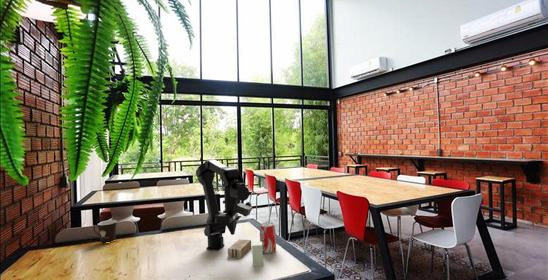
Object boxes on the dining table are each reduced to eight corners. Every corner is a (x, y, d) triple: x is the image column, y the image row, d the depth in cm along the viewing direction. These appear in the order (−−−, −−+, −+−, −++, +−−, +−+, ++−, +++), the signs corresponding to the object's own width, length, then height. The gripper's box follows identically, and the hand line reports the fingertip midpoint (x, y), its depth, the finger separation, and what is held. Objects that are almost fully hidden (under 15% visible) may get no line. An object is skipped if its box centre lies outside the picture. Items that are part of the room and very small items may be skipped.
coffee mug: (120, 240, 150) (120, 221, 151) (103, 245, 143) (103, 225, 143) (109, 237, 157) (108, 219, 157) (92, 242, 149) (91, 223, 150)
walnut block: (227, 248, 122) (239, 239, 134) (228, 256, 122) (239, 246, 134) (240, 249, 120) (251, 240, 132) (241, 257, 120) (251, 247, 132)
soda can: (274, 254, 122) (273, 226, 122) (258, 254, 124) (257, 226, 124) (277, 248, 129) (276, 222, 129) (262, 248, 131) (261, 221, 131)
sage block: (252, 266, 112) (252, 245, 112) (253, 261, 116) (252, 242, 116) (263, 265, 112) (262, 245, 112) (262, 261, 116) (262, 241, 116)
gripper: (240, 202, 109) (241, 243, 109) (256, 193, 127) (258, 228, 127) (214, 202, 112) (215, 241, 112) (233, 193, 130) (235, 227, 130)
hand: (232, 234), depth 120 cm, fingers closed
